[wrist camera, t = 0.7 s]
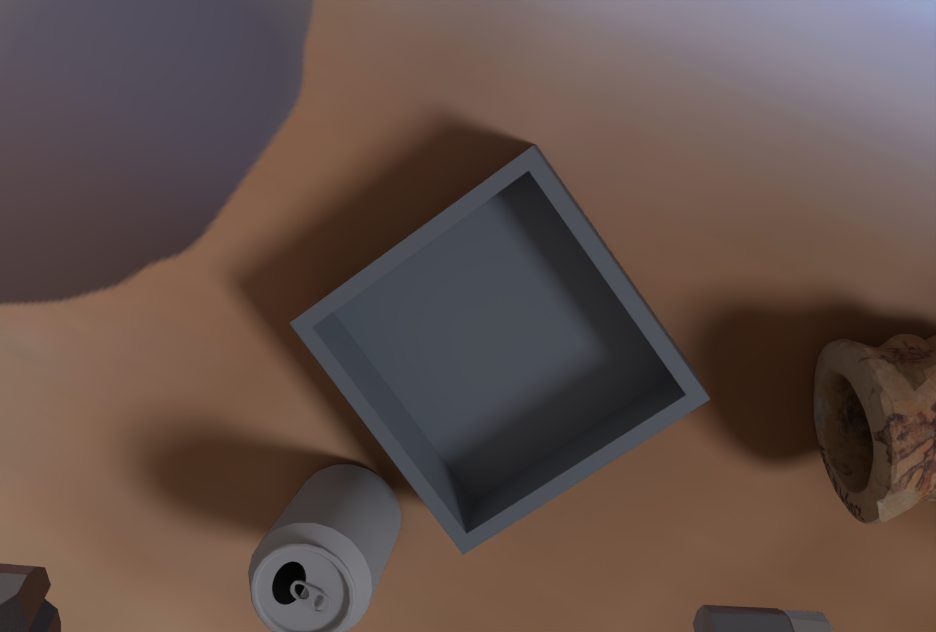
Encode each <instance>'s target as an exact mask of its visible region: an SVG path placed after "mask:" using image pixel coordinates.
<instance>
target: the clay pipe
mask: <svg viewBox="0 0 936 632" xmlns="http://www.w3.org/2000/svg"><path fill="white" fill-rule="evenodd" d="M813 403H814V422H815V428H816V434H817V438H818V443H819V447H820V451H821V455H822V458H823V462H824V465H825V468H826V470H827V473H828V475H829V478H830V480H831V482H832V484H833V487H834V489H835V491H836V493H837V494H838V496H839V497H840V499H841V500H842V502H843V503H844V505H845V506H846V508H847V509H848V510H849V512H850V513H851V514H852V515H853V516H854V517H855V518H856V519H857V520H859V521H861V522H863V523H866V524H877V523H882V522H886V521H888V520H890V519H892V518H894V517H896V516H898V515H900V514H901V513H903V512H905V511H907V510H908V509H910V508H912V507H913V506H915V505H916V504H918V503H919V502H920V501H922V500H925V501H936V335H933V336H932V337H930V338H928V339H926V340H924V339H923V338H921V337H919V336H916V335H914V334H898V335H895V336H893V337H891V338H890V339H889V340H887V341H886V342H885V343H883V344H882V345H881V346H879V347H872V346H869V345H866V344H862V343H859V342H855V341H851V340H848V339H839V340H835V341H832V342H829V343H828V344H826V345H825V346H824V348H823V350H822V351H821V353H820V354H819V357H818V361H817V365H816V371H815V379H814V396H813Z"/></svg>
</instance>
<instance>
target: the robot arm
mask: <svg viewBox="0 0 936 632" xmlns="http://www.w3.org/2000/svg"><path fill="white" fill-rule="evenodd" d="M50 586H51V584H50V581H49V578H48V575H47V572H46V569H45V567H36V566H24V565H13V564H1V563H0V632H61V621H60V617H59V613H58V609H57V608H56V607H54V606H53V605H52V604H51V603H49V602H48V601H47V600H46V599H44V598H45V596H46V594H47V592H48V590H49V588H50ZM693 627H694V631H695V632H834V631H833V629H832V626H831V624H830V622H829V619H828V618H827V617H826V616H825V615H824V614H823V613H822V612H816V611H799V610H779V609H778V608H759V607H737V606H715V605H703V606H701V607H700V608H699V609H698V610H697V613H696V616H695V618H694V621H693Z"/></svg>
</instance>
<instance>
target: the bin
mask: <svg viewBox="0 0 936 632" xmlns="http://www.w3.org/2000/svg"><path fill="white" fill-rule="evenodd" d="M290 325H291V326H292V327H293V329H294V330H295V331H296V333H297V334H298V335H299V337H300V338H301V339H302V341H303V342H304V343H305V345H306V346H307V347H308V349H309V350H310V351H311V353H312V354H313V355H314V357H315V358H316V359H317V361H318V362H319V363H320V365H321V366H322V367H323V369H324V370H325V371H326V373H327V374H328V375H329V377H330V378H331V379H332V381H333V382H334V383H335V385H336V386H337V387H338V389H339V390H340V391H341V393H342V394H343V395H344V397H345V398H346V399H347V401H348V402H349V403H350V405H351V406H352V407H353V409H354V410H355V411H356V413H357V414H358V415H359V417H360V418H361V419H362V421H363V422H364V423H365V425H366V426H367V427H368V429H369V430H370V431H371V433H372V434H373V435H374V437H375V438H376V439H377V441H378V442H379V443H380V445H381V446H382V447H383V449H384V450H385V451H386V453H387V454H388V455H389V457H390V458H391V459H392V461H393V462H394V463H395V465H396V466H397V467H398V469H399V470H400V471H401V473H402V474H403V475H404V477H405V478H406V479H407V481H408V482H409V483H410V485H411V486H412V487H413V489H414V490H415V491H416V493H417V494H418V495H419V497H420V498H421V499H422V501H423V502H424V503H425V505H426V506H427V507H428V509H429V510H430V511H431V513H432V514H433V515H434V517H435V518H436V519H437V521H438V522H439V523H440V525H441V526H442V527H443V529H444V530H445V531H446V533H447V534H448V535H449V537H450V538H451V539H452V541H453V542H454V543H455V545H456V546H457V547H458V549H459V550H460V551H461V553H462V554H465V553H466V552H468V551H470V550H471V549H473V548H474V547H476V546H478V545H479V544H481V543H482V542H484V541H486V540H487V539H489V538H490V537H492V536H494V535H495V534H497V533H498V532H500V531H501V530H503V529H505V528H506V527H508V526H509V525H511V524H513V523H514V522H516V521H517V520H519V519H521V518H522V517H524V516H525V515H527V514H529V513H530V512H532V511H533V510H535V509H537V508H538V507H540V506H541V505H543V504H545V503H546V502H548V501H549V500H551V499H552V498H554V497H556V496H557V495H559V494H560V493H562V492H564V491H565V490H567V489H568V488H570V487H572V486H573V485H575V484H576V483H578V482H580V481H581V480H583V479H584V478H586V477H588V476H589V475H591V474H592V473H594V472H596V471H597V470H599V469H600V468H602V467H603V466H605V465H607V464H608V463H610V462H611V461H613V460H615V459H616V458H618V457H619V456H621V455H623V454H624V453H626V452H627V451H629V450H631V449H632V448H634V447H635V446H637V445H639V444H640V443H642V442H643V441H645V440H646V439H648V438H650V437H651V436H653V435H654V434H656V433H658V432H659V431H661V430H662V429H664V428H666V427H667V426H669V425H670V424H672V423H674V422H675V421H677V420H678V419H680V418H682V417H683V416H685V415H686V414H688V413H690V412H691V411H693V410H694V409H696V408H697V407H699V406H701V405H702V404H704V403H705V402H707V401H709V400H710V398H709V396H708V394H707V392H706V391H705V389H704V387H703V385H702V383H701V382H700V380H699V378H698V376H697V374H696V373H695V371H694V370H693V368H692V367H691V366H690V364H689V363H688V361H687V360H686V358H685V357H684V355H683V354H682V353H681V351H680V350H679V348H678V347H677V345H676V344H675V343H674V341H673V340H672V338H671V337H670V335H669V334H668V333H667V331H666V330H665V328H664V327H663V325H662V324H661V323H660V321H659V320H658V318H657V317H656V315H655V314H654V313H653V311H652V310H651V308H650V307H649V305H648V304H647V303H646V301H645V300H644V298H643V297H642V295H641V294H640V293H639V291H638V290H637V288H636V287H635V285H634V284H633V282H632V281H631V280H630V278H629V277H628V275H627V274H626V272H625V271H624V270H623V268H622V267H621V265H620V264H619V262H618V261H617V260H616V258H615V257H614V255H613V254H612V252H611V251H610V250H609V248H608V247H607V245H606V244H605V242H604V241H603V240H602V238H601V237H600V235H599V234H598V232H597V231H596V230H595V228H594V227H593V225H592V224H591V222H590V221H589V220H588V218H587V217H586V215H585V214H584V212H583V211H582V210H581V208H580V207H579V205H578V204H577V202H576V201H575V199H574V198H573V197H572V195H571V194H570V192H569V191H568V189H567V188H566V187H565V185H564V184H563V182H562V181H561V179H560V178H559V177H558V175H557V174H556V172H555V171H554V169H553V168H552V167H551V165H550V164H549V162H548V161H547V159H546V158H545V157H544V155H543V154H542V152H541V151H540V149H539V148H538V147H537V145H533V146H532V147H530V148H529V149H527V150H526V151H525V152H523V153H522V154H521V155H519V156H518V157H516V158H515V159H514V160H512V161H511V162H510V163H508V164H507V165H505V166H504V167H503V168H501V169H500V170H499V171H497V172H496V173H494V174H493V175H492V176H490V177H489V178H488V179H486V180H485V181H484V182H482V183H481V184H479V185H478V186H477V187H475V188H474V189H473V190H471V191H470V192H468V193H467V194H466V195H464V196H463V197H462V198H460V199H459V200H457V201H456V202H455V203H453V204H452V205H451V206H449V207H448V208H446V209H445V210H444V211H442V212H441V213H440V214H438V215H437V216H436V217H434V218H433V219H431V220H430V221H429V222H427V223H426V224H425V225H423V226H422V227H420V228H419V229H418V230H416V231H415V232H414V233H412V234H411V235H409V236H408V237H407V238H405V239H404V240H403V241H401V242H400V243H398V244H397V245H396V246H394V247H393V248H392V249H390V250H389V251H388V252H386V253H385V254H383V255H382V256H381V257H379V258H378V259H377V260H375V261H374V262H372V263H371V264H370V265H368V266H367V267H366V268H364V269H363V270H361V271H360V272H359V273H357V274H356V275H355V276H353V277H352V278H350V279H349V280H348V281H346V282H345V283H344V284H342V285H341V286H339V287H338V288H337V289H335V290H334V291H333V292H331V293H330V294H329V295H327V296H326V297H324V298H323V299H322V300H320V301H319V302H318V303H316V304H315V305H313V306H312V307H311V308H309V309H308V310H307V311H305V312H304V313H302V314H301V315H300V316H298V317H297V318H296V319H294V320H293V321H291V322H290Z"/></svg>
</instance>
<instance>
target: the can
mask: <svg viewBox="0 0 936 632" xmlns="http://www.w3.org/2000/svg"><path fill="white" fill-rule="evenodd" d="M400 525H401V514H400V506H399V503H398V501H397V498H396V496H395V494H394V491H393V490H392V489H391V488H390V487H389V485H388V484H387V483H386V482H385V481H384V479H383V478H381V477H379V476H378V475H376V474H375V473H373V472H372V471H370V470H369V469H366V468H362V467H359V466H356V465H352V464H350V465H333V466H330V467H327V468H324V469H321V470H319V471H318V472H317V473H315V474H314V475H313V476H311V477H310V478H309V479H307V481H306V482H305V483H304V485H303V486H302V487H301V489H300V490H299V491H298V493H297V494H296V495H295V497H294V498H293V499H292V501H291V502H290V503H289V505H288V506H287V507H286V509H285V510H284V511H283V513H282V514H281V515H280V517H279V518H278V519H277V521H276V522H275V523H274V525H273V526H272V527H271V528H270V530H269V531H268V532H267V534H266V535H265V536H264V538H263V539H262V541H261V542H260V544H259V545H258V547H257V548H256V550H255V551H254V553H253V554H252V558H251V562H250V567H249V571H248V575H249V584H250V591H251V600H252V603H253V605H254V608H255V610H256V612H257V614H258V616H259V617H260V619H261V620H262V621H263V622H264V623H265V624H266V626H267V627H268V628H269V629H271V630H272V631H274V632H345V631H347V630H348V629H350V628H351V627H352V626H354V625H355V624H357V623H358V621H359V620H360V618H361V617H362V616H363V614H364V613H365V611H366V610H367V608H368V606H369V604H370V601H371V599H372V596H373V594H374V592H375V589H376V587H377V585H378V582H379V580H380V577H381V575H382V573H383V570H384V568H385V566H386V563H387V561H388V558H389V556H390V554H391V551H392V549H393V546H394V544H395V542H396V539H397V536H398V533H399V529H400Z"/></svg>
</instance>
